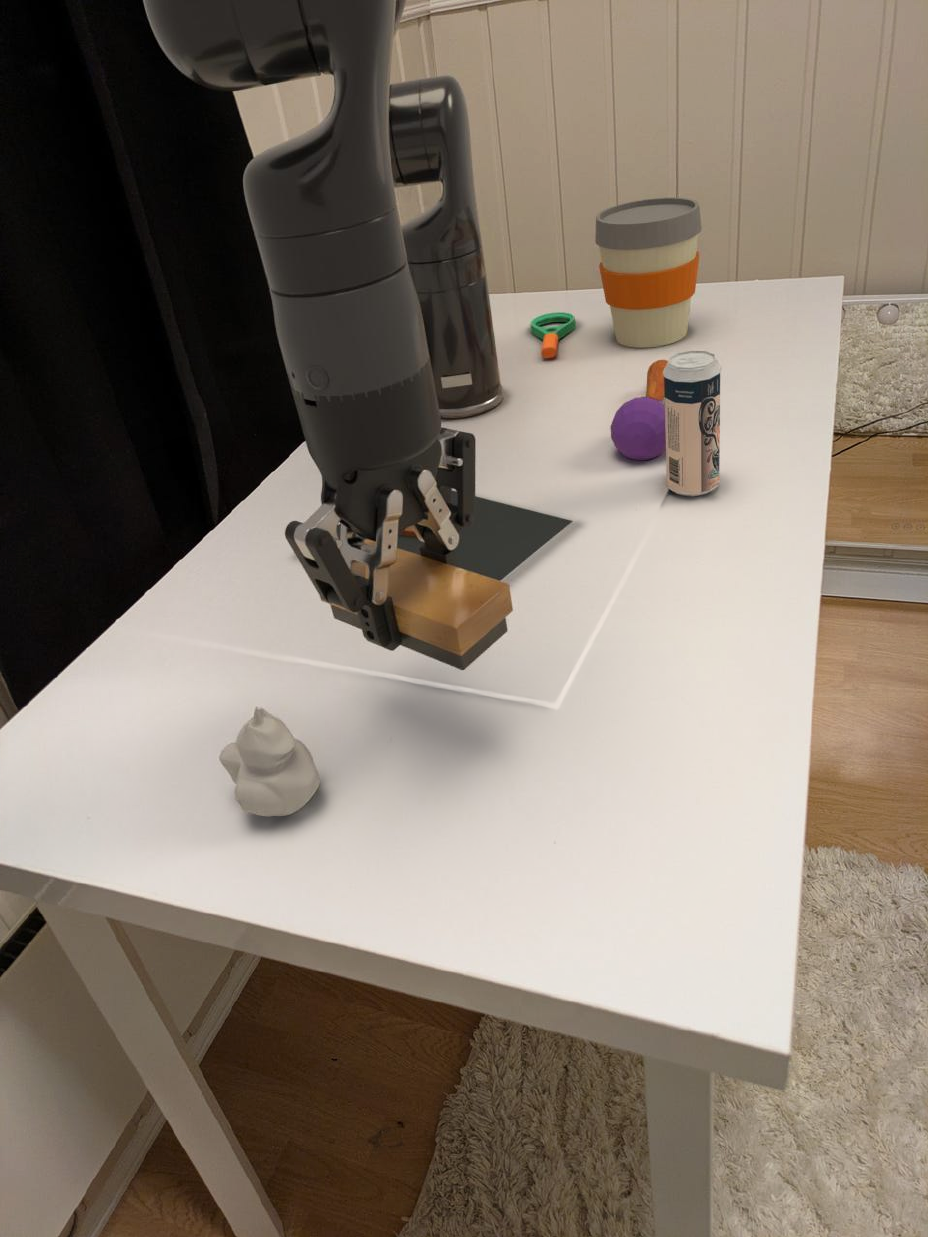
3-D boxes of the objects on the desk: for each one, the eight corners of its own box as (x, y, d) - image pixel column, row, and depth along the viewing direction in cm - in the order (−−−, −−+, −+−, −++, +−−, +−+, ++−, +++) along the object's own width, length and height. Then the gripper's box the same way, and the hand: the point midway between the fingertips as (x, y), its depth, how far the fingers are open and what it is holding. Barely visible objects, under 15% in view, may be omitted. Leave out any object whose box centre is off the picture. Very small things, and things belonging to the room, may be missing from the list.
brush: (326, 619, 60) (313, 575, 58) (378, 581, 63) (367, 537, 61) (465, 676, 53) (455, 628, 51) (516, 630, 56) (509, 583, 54)
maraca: (694, 351, 99) (676, 415, 83) (684, 404, 102) (664, 475, 86) (639, 343, 100) (611, 404, 84) (631, 396, 103) (602, 464, 87)
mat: (300, 555, 83) (298, 550, 83) (408, 484, 92) (407, 478, 92) (466, 614, 72) (465, 608, 71) (573, 526, 80) (572, 520, 80)
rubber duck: (300, 841, 55) (263, 744, 50) (213, 819, 57) (171, 725, 53) (344, 778, 59) (313, 683, 54) (260, 759, 61) (225, 667, 57)
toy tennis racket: (532, 323, 127) (531, 311, 126) (576, 318, 126) (575, 306, 125) (525, 362, 115) (524, 349, 114) (573, 357, 114) (572, 344, 113)
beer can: (720, 498, 80) (722, 367, 73) (665, 500, 81) (661, 371, 75) (719, 473, 84) (720, 346, 77) (666, 475, 85) (663, 350, 78)
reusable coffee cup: (680, 355, 109) (677, 223, 101) (585, 350, 116) (575, 225, 107) (716, 319, 117) (717, 194, 109) (625, 316, 124) (619, 198, 115)
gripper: (397, 310, 54) (444, 551, 64) (208, 405, 46) (295, 665, 56) (496, 320, 50) (530, 578, 60) (306, 428, 42) (381, 706, 51)
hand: (416, 619), depth 58 cm, fingers closed on brush, 5 cm apart
